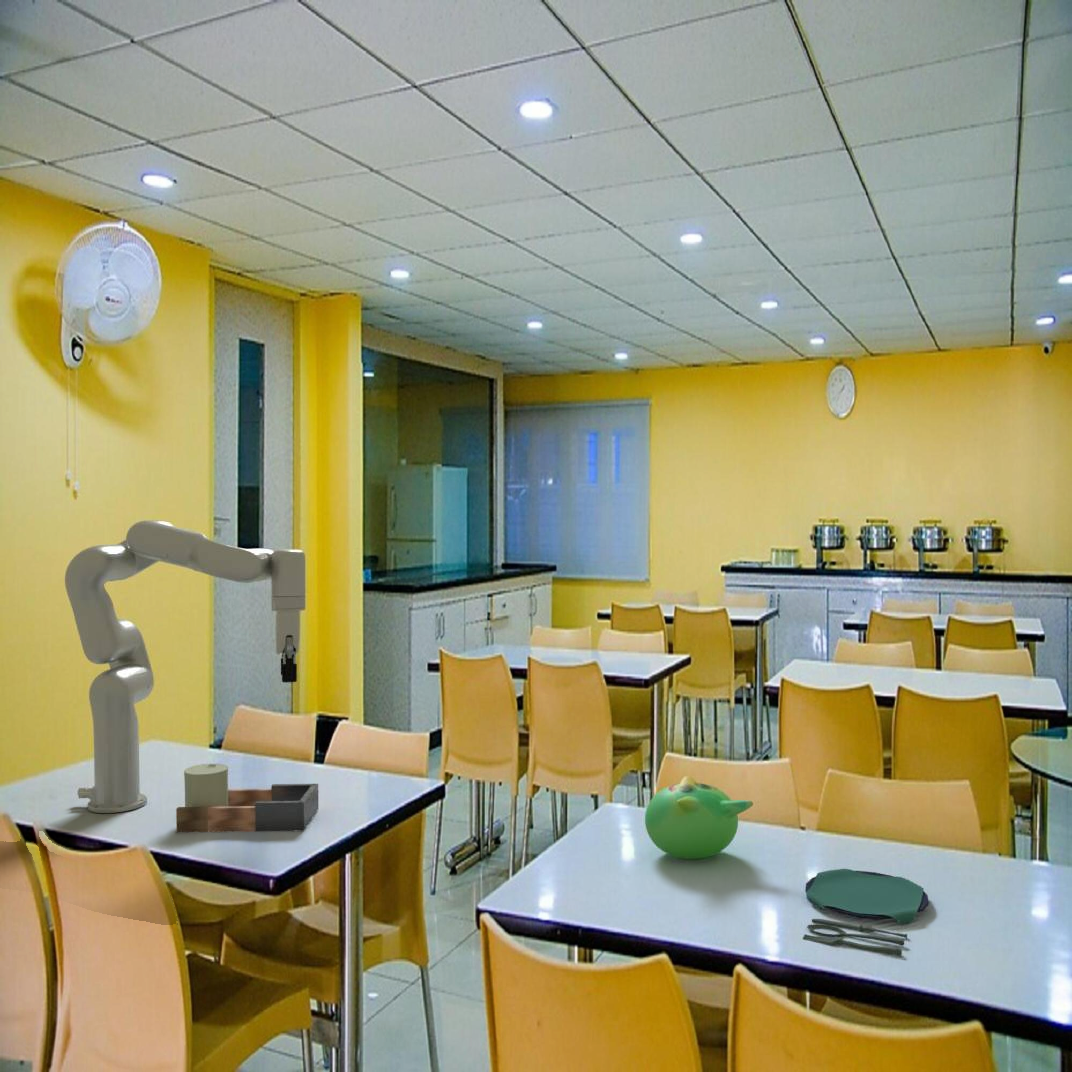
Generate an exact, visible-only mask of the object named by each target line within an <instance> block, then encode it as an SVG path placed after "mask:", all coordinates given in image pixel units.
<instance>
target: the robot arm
mask: <svg viewBox="0 0 1072 1072" xmlns="http://www.w3.org/2000/svg"><path fill="white" fill-rule="evenodd" d="M125 536H126V537H125V539H124V540H123V541H121V542H119V543H117V544H102V545H101V544H100V545H93V546H90V547H87V548H85V549H82V550H81V551H80V552H79V553H77V554H76V555H75V556H74V557H73V558H72V559H71V560H70V561H69V564H68V565H67V568H66V570H65V575H64V585H65V586H64V587H65V590H66V593H67V597H68V600H69V603H70V606H71V608H72V609H71V610H72V612H73V617H74V620H75V625H76V628H77V632H78V636H79V641H80V644H81V646H82V647H81V648H82V651H83V654H84V655H85V657H86V659H87V660H88V661H89V662H91V663H92V664H95V665H105V664H106V665H107V664H108V665H109V669H106V670H104V671H102V672H100V673H99V674H98V675H97V676H96V677H95V678H94V679H93V680H92V683H90V687H89V690H88V691H89V692H88V700H89V705H90V710H91V715H92V725H93V727H92V728H93V759H94V760H93V763H94V765H93V766H94V767H93V768H94V773H93V774H94V775H93V777H94V780H93V781H94V786H92V787H90V788H89V787H79V788H78V790H77V796H78V797H77V798H79V799H89V801H88V802H87V806H86V807H87V810H88V811H89V812H92V813H98V814H114V813H115V814H116V813H122V812H123V813H124V812H129V811H131V810H136V809H138V808H141V807H143V806H144V805H147V803H148V797H147V795H145V794H143V793H141V792H140V789H141V788H140V786H141V783H140V736H139V733H140V731H139V730H140V729H139V720H138V715H137V712H136V711H137V710H136V707H135V704H137V703H139V702H142V701H143V700H145V699H146V698H148V697H149V696H150V695H151V693H152V691H153V688H154V685H155V680H154V679H155V678H154V672H153V669H152V664H151V662H150V659H149V654H148V652H147V651H148V650H147V648H146V647H147V646H146V643H145V639H144V637H143V635H142V632H141V630H140V629H139V628H138V627H137V625H135V623H133V622H131V621H129V620H128V619H127V620H126V619H121V618H119V619H118V617H117V615H116V611H115V606H114V603H113V600H112V598H111V597H110V594H109V593H108V592H107V591H108V590H106V587H105V584H106V583H107V582H109V583H110V582H114V581H123V580H127V579H129V578H131V577H134V576H136V575H137V574H140V572H143V571H144V570H146V569H148V568H150V567H151V566H153V565H155V564H156V563H159V562H162V563H165V564H170V565H174V566H178V567H183V568H187V569H190V570H192V571H194V572H199V573H201V574H205V575H209V576H211V577H216V578H219V579H224V580H228V581H233V582H236V583H243V584H249V583H254V582H255V583H256V582H261V581H267V580H270V581H271V582H270V583H271V585H270V586H271V591H270V592H271V611H272V612H275V654H276V655H278V656H280V654H281V657H280V676H281V682H282V683H283V684H284V683H296V682H297V681H298V670H297V669H298V668H297V667H298V666H297V665H298V664H297V661H296V660H297V657H296V655H298V654H299V649H300V640H301V639H300V638H301V637H300V635H301V612H302V611H305V610H306V554H305V552H304V551H303V550H300V549H290V548H289V549H287V548H285V549H268V548H261V547H260V548H259V547H258V548H256V547H255V548H254V547H253V548H242V547H237V546H233V545H232V546H231V545H227V544H224V543H221V542H218V541H214V540H211V539H209V538H208V537H207V536H206V535H205V534H204V533H202V532H199V531H196V530H195V531H194V530H190V529H185V528H181V527H178V526H174V525H173V524H172V523H170V522H167V521H165V520H142V521H138V522H135V523H134V524H133V525H131V526H130V527H129V529H128V530H127V532H126V535H125Z"/></svg>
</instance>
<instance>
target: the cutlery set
mask: <svg viewBox="0 0 1072 1072" xmlns="http://www.w3.org/2000/svg"><path fill="white" fill-rule="evenodd" d="M924 890H925V888H923V887H922V886H921V885H918V884H917V883H914V881H911V880H909V878H908V879H906V878H905V877H903V876H893V875H890V874H885V873H880V872H876V871H864V870H853V869H849V868H839V869H838V868H837V869H831V870H825V871H820V872H817V874H816V876H814V877H811V878H810V879H809V880H808V881H807V882H806V884H805V890H804V891H805V896H806V899H807V901H808V902H809V903H810V904H812V905H814V906H815V907H817V908H819V910H822V908H824V909H828V910H829V911H832V912H835V913H837V914H840V915H845V916H847V917H848V916H849V917H853V918H859V919H868V920H896V921H897V922H898V923H899V924H900V925H901V926H906V925H909V924H911V923H912V922H913V921H914V920H915V919H916V917H917V914H919V913H921V912H923V911H924V910H925V909H926V908H927V906H928V905H929V903H930V901H929V897H928V893H926V892H925V891H924ZM811 922H813V923H814V924H808V925H807V927H806V928H807V929H808V930H810V931H811V932H813V933H815V934H817V936H816V935H809V934H804V935H803V937H802V939H803V940H805V941H810V942H815V943H819V944H823V945H828V946H832V947H833V946H834V947H835V946H841V947H842V946H848V947H851V948H856V949H858V950H863V951H864V950H865V951H869V952H875V953H883V954H890V955H894V956H899V957H901V956H902V955H903V953H902V952H903V950H902V948H899V947H891V946H879V945H870V944H862V943H858V942H854V941H849V940H846V939H845V940H844V939H843V937H852V938H859V939H867V940H868V939H869V940H874V941H880V942H883V943H884V942H885V943H891V944H895V945H899V946H903V947H904V946H905V939H906V940H908V933H900V932H891V931H888V930H884V929H879V928H878V929H877V928H875V927H872V926H870V925H863V924H862V923H860V925H859V926H858V925H856V924H850V923H847V922H841V921H835V920H829V919H823V918H812V919H811ZM815 923H816V924H815ZM836 926H837V927H836ZM839 927H840V928H839ZM841 927H842V928H846V929H851V930H858V931H859V932H861V933H862V932H863V931H865V932H866V933H875V932H876V933H882V934H888V935H892V936H897V937H890V936H889V937H888V936H883V935H882V936H881V935H874V934H859V933H847V932H846V931H845V930H843V929H841ZM820 929H821V930H830V931H833V932H836V933H837V934H833V933H823V932H819V931H816V930H820ZM818 935H820V936H818ZM898 937H903V938H898Z"/></svg>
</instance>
